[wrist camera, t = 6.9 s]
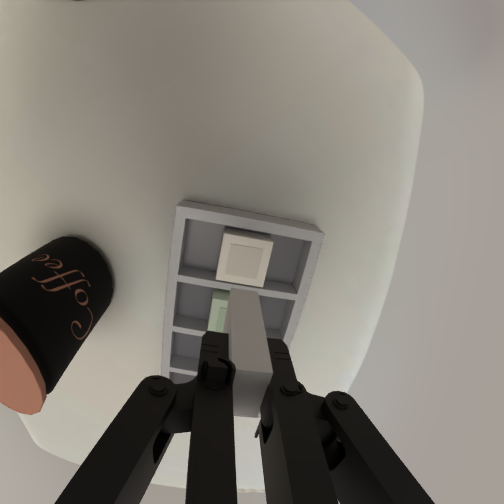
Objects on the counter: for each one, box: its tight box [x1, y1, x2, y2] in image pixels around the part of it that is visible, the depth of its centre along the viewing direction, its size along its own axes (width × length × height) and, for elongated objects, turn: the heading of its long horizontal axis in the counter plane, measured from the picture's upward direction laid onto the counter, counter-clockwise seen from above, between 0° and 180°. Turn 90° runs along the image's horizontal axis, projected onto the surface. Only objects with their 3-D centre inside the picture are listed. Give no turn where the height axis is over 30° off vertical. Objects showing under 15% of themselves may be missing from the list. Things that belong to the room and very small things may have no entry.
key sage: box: [207, 288, 261, 333], centre depth 29 cm, size 5×5×3 cm
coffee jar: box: [0, 237, 113, 415], centre depth 22 cm, size 11×11×18 cm
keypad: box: [161, 200, 324, 418], centre depth 32 cm, size 26×14×3 cm, turn 168°
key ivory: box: [216, 227, 274, 287], centre depth 28 cm, size 5×5×3 cm
